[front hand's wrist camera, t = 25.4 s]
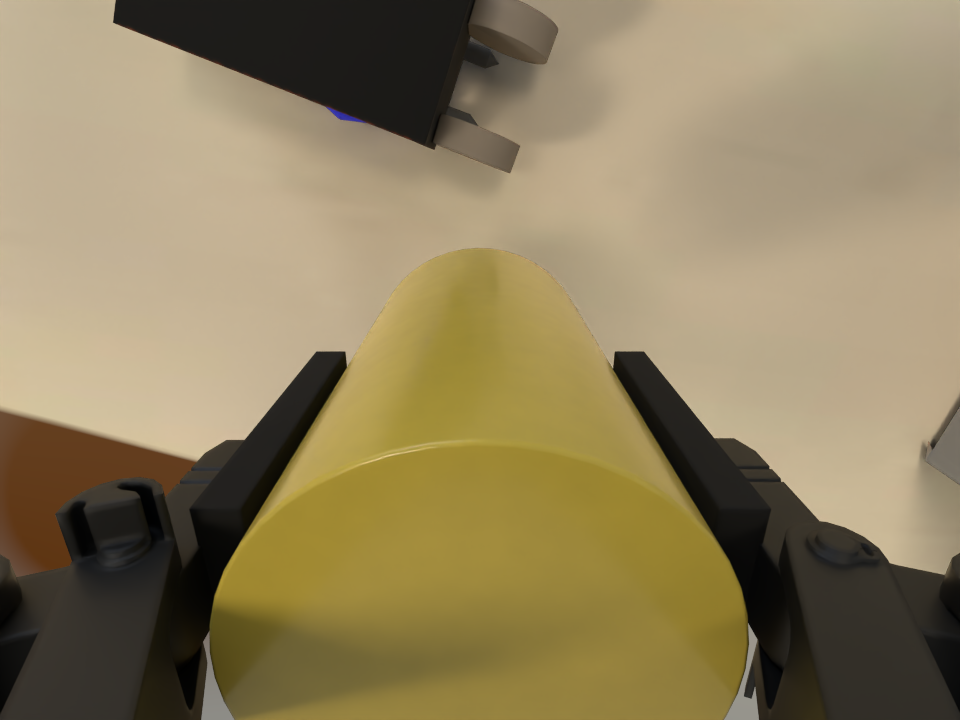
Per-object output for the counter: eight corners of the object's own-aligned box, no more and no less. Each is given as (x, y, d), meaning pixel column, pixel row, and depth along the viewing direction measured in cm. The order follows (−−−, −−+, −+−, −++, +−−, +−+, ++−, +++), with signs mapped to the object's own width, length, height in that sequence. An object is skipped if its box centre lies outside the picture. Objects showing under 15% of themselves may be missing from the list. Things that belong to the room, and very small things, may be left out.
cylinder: (624, 348, 18) (859, 668, 7) (482, 474, 20) (486, 887, 9) (476, 200, 16) (467, 310, 5) (334, 353, 18) (103, 680, 7)
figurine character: (539, 33, 25) (211, -111, 22) (584, 0, 19) (117, -217, 15) (492, 173, 28) (189, 62, 24) (517, 189, 21) (99, 38, 18)
